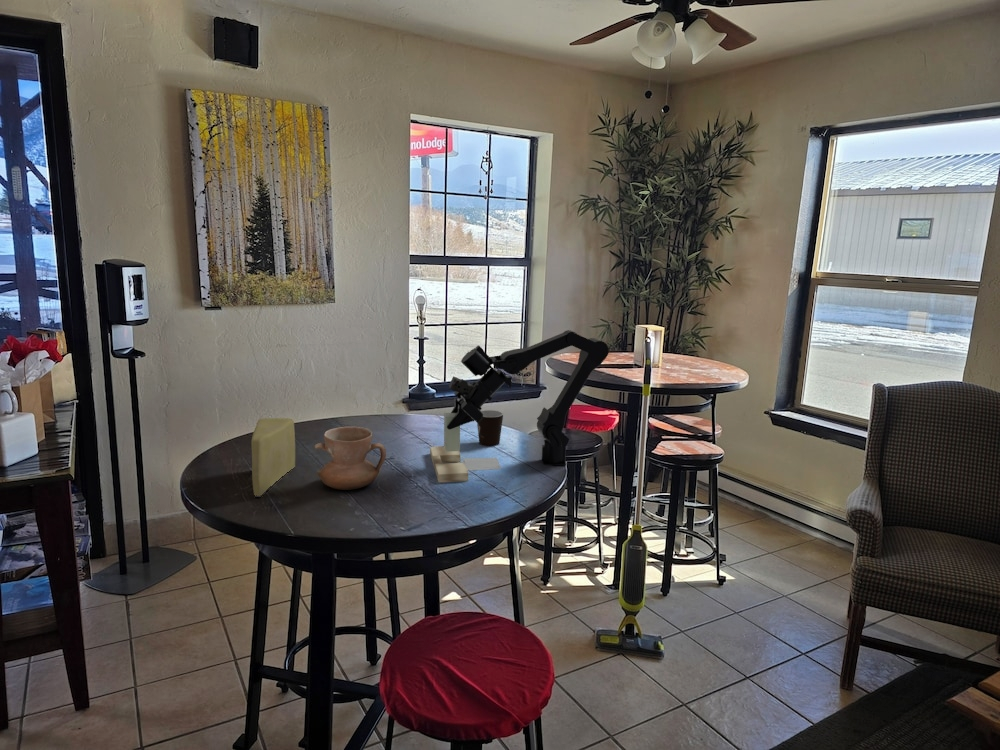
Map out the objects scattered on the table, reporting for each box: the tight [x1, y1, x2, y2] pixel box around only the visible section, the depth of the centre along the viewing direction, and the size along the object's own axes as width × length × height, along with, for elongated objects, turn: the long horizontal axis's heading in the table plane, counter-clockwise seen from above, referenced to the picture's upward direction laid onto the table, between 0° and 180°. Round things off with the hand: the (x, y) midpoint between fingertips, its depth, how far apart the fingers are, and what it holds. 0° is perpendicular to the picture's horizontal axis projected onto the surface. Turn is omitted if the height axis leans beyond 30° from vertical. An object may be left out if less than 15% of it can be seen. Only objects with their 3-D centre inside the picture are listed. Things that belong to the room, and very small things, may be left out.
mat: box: [462, 457, 503, 472], centre depth 186 cm, size 10×10×1 cm
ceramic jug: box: [314, 425, 387, 491], centre depth 167 cm, size 18×14×14 cm
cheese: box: [250, 417, 296, 496], centre depth 168 cm, size 22×10×15 cm, turn 5°
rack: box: [429, 445, 469, 483], centre depth 183 cm, size 8×24×2 cm, turn 11°
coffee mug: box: [476, 409, 504, 447], centre depth 206 cm, size 12×9×10 cm
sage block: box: [443, 412, 461, 452], centre depth 181 cm, size 4×4×10 cm
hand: (447, 426), depth 180 cm, fingers closed on sage block, 4 cm apart
